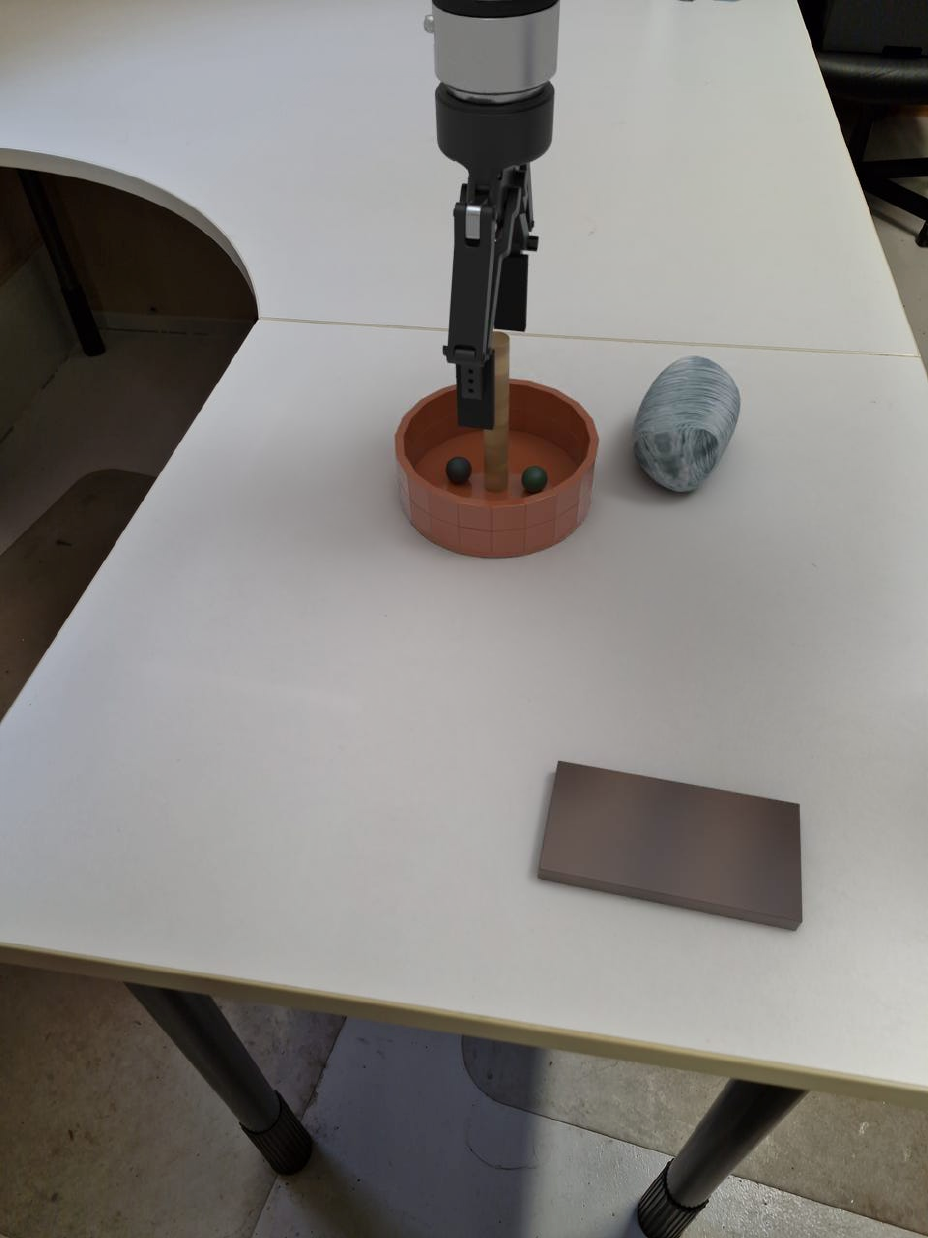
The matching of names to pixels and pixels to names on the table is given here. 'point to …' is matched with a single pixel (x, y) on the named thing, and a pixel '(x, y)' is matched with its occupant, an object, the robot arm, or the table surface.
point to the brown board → (675, 844)
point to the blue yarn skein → (686, 423)
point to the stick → (498, 420)
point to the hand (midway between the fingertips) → (494, 374)
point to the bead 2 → (534, 479)
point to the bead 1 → (458, 469)
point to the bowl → (514, 517)
